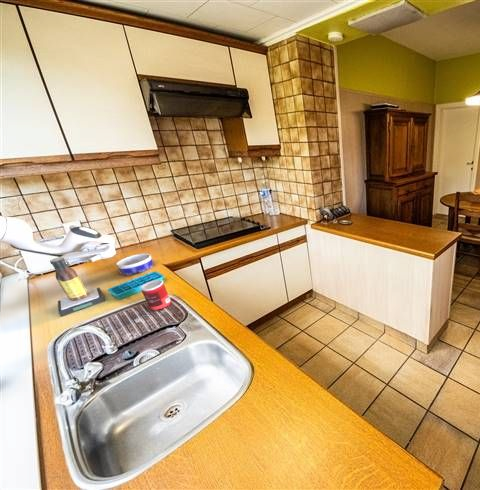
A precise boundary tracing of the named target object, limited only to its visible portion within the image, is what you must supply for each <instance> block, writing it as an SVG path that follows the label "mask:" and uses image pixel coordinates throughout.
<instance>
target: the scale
mask: <svg viewBox="0 0 480 490" xmlns="http://www.w3.org/2000/svg"><path fill="white" fill-rule="evenodd" d="M86 290H87V292H88V295H87V296H86V297H84V298H82V299H79V300H74V301H72V300H70V299H69V298H68V297H67V296H65V297H63V298H60V300H57V310H58V311H57V312H58V314H59V316H60V317H65V316H67V315H70V314H72V313H76V312H79V311H81V310H84V309H87V308H89V307H92V306H95V305H98V304H101V303H104V302H105V298H104V297H105V296H104V295H103V292H102V290H101V288H100V287H92V288H90V289H86Z"/></svg>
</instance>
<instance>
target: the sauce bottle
mask: <svg viewBox="0 0 480 490" xmlns="http://www.w3.org/2000/svg"><path fill="white" fill-rule="evenodd" d="M49 262H50V264H51V265H52V267H53V269H54V271H55V279H56V281H57V283H58V284H59V286H60V287H61V289H62V291H63V292H64V293H65V295H66V297H68V298H69V299H70V300H72V301H74V300H79V299H82V298H84V297H86V296H87V295H88V292H87V290H88V289H87V288H86V286H85V285H84V283H83V281H82V279H81V278H80V277H79V275H78V273H77V272H76V270H75V269H73V268H72V267H71V266H68V265H67V264H66V262H65V260H64V258H63V257H55V258H53V259H50V260H49Z"/></svg>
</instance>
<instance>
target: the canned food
mask: <svg viewBox="0 0 480 490" xmlns="http://www.w3.org/2000/svg"><path fill="white" fill-rule="evenodd" d="M141 293H142V295H143V298H144V299H145V301H146V304H147V305H148V308H149V309H150V310H151V311H152V310H158V309H162V308H164V309H166V308H168V307H169V306H171V304H172V301H171V298H170V295H169V293H168V291H167V289H166V286H165V283H164V281H163V282H162V280H154V281H150V282H148V283H146V284H144V285H143V286H141ZM167 306H168V307H167ZM165 307H166V308H165ZM162 310H163V309H162ZM159 311H160V310H158V311H157V312H159Z"/></svg>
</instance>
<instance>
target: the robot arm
mask: <svg viewBox="0 0 480 490" xmlns="http://www.w3.org/2000/svg"><path fill="white" fill-rule="evenodd" d="M0 243H5V244H7V245H8V244H9V245H10V247H11V248H13V249H15V250H18V251H22V252H28V253H33V254H39V255H46V256H51V257H56V258H59V257H63V258H64V260H65V262H66V264H67V265H68V267H70V266H71V265H74V264H80V263H86V262H89V263H94V262H97V261H99V260H104V259H109V258H113V257H114V256H115V255H117V251H116V248H115V246H116V240H115V237H114V236H112V235H111V234H108V233H100V232H99V231H97V230H96V229H94V228H92V227H89V226H74V227H71V228H70V230H69V231H68V232H67V234H66V235H65V238H64V239H63V241H62V242H61V243H60V244H58V245H55V244H49V243H44V242H39V241H36V240H35V239H34V232H33V229H32V227H31V226H30V224H29V223H28V222H26V221H25V220H23V219H22V218H17V217H12V216H6V215H0Z"/></svg>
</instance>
